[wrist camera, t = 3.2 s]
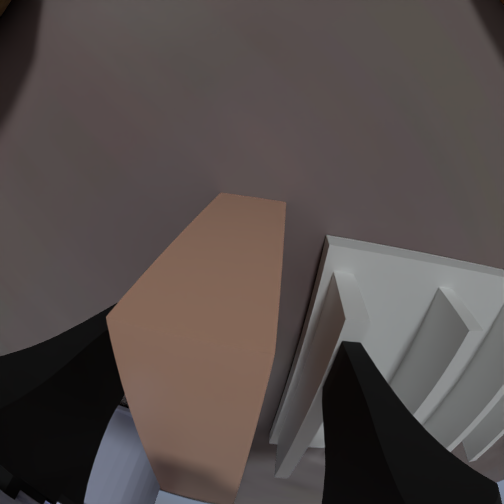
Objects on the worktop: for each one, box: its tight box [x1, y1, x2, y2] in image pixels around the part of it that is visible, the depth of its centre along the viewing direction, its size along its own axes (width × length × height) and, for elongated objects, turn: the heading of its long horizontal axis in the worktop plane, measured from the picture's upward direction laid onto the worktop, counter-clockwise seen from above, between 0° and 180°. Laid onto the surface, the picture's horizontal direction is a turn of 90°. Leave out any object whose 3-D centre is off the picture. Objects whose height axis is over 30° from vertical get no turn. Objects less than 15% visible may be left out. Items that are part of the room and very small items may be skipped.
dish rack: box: [269, 235, 504, 479], centre depth 12 cm, size 14×16×4 cm
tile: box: [106, 193, 286, 504], centre depth 9 cm, size 8×2×8 cm, turn 173°
